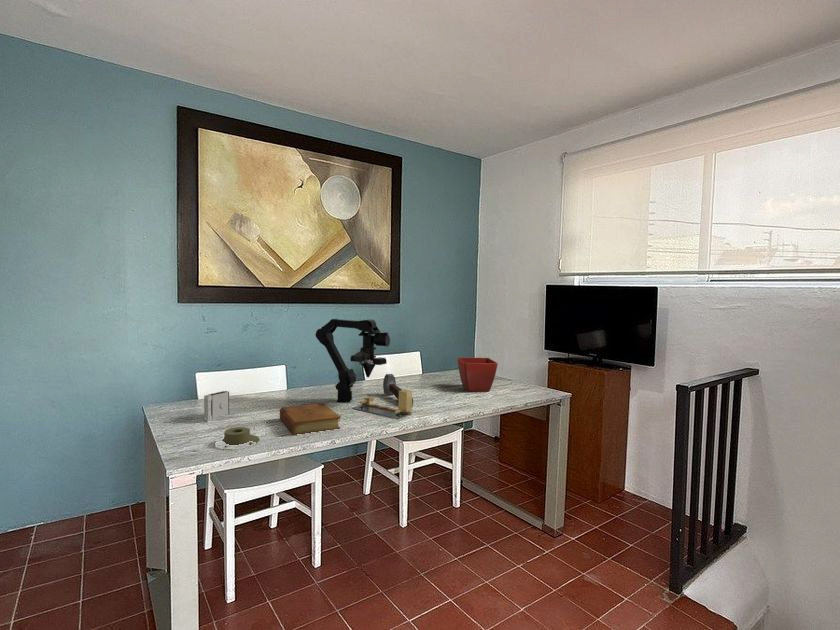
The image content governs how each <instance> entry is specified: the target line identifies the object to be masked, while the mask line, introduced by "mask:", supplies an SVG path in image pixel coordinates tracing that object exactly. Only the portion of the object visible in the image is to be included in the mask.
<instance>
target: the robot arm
mask: <svg viewBox="0 0 840 630" xmlns="http://www.w3.org/2000/svg"><path fill="white" fill-rule="evenodd" d="M337 328H345V329H346V328H347V329H356V330H359V331H361V332H360V333H359V334H358V336H359V337H361V336H362V346H361V347H360V348H359V351H358V352H356V353H354V354H352V355H351V356H350V362H355V363H358V364H359V365H361V366H362V368H363V370H364V373H365V377H366V378H370V376H371V374H372V372H373V370H374V368H375V366H376V365H377V366H383V365H386V364H387V361H388V360H387V359H386V357H380V356H379V357H377V355H375V351H376V350H377V347H389V346H390V344H391V338H390V335H389V332H387V331H386V332H384V331H383V332H382V331H381V330H380V329H379V328H378V326H377V322H376V321H375V320H374V319H371V318H370V319H364V320H363V319H362V320H361V319H360V320H353V319H339V318H331V319H330V320H329V321H328V322H327V323H325V324H324V325H322V326H321V328H318V329H317V330H316V331H315V333H314V334H315V338H316V339H317V341H319V343H320V344H321V345H322V346H323V347H325V349H326V352H327V353H328V355H329V357H330V358H331V360H332V362H333V364H334V366H335V368H336V370H337V375H338V376H337V377H338V382H337V384H335V386H334V387H335V389H336V390H337V400H336V402H337V403H351V402H352V400H353V390H352V388H353V387H354V384H355V383H357V382H356V381H357V374H356V373H355V372H354V369H353V368H349V367H348V366H347V365H346V363H345V360H344V359H343V357H342V355H341V354H340V352H339V349H338V347H337V346H336V343H335V340H334V338H335V337H334V333H335V332H336V330H337Z"/></svg>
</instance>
